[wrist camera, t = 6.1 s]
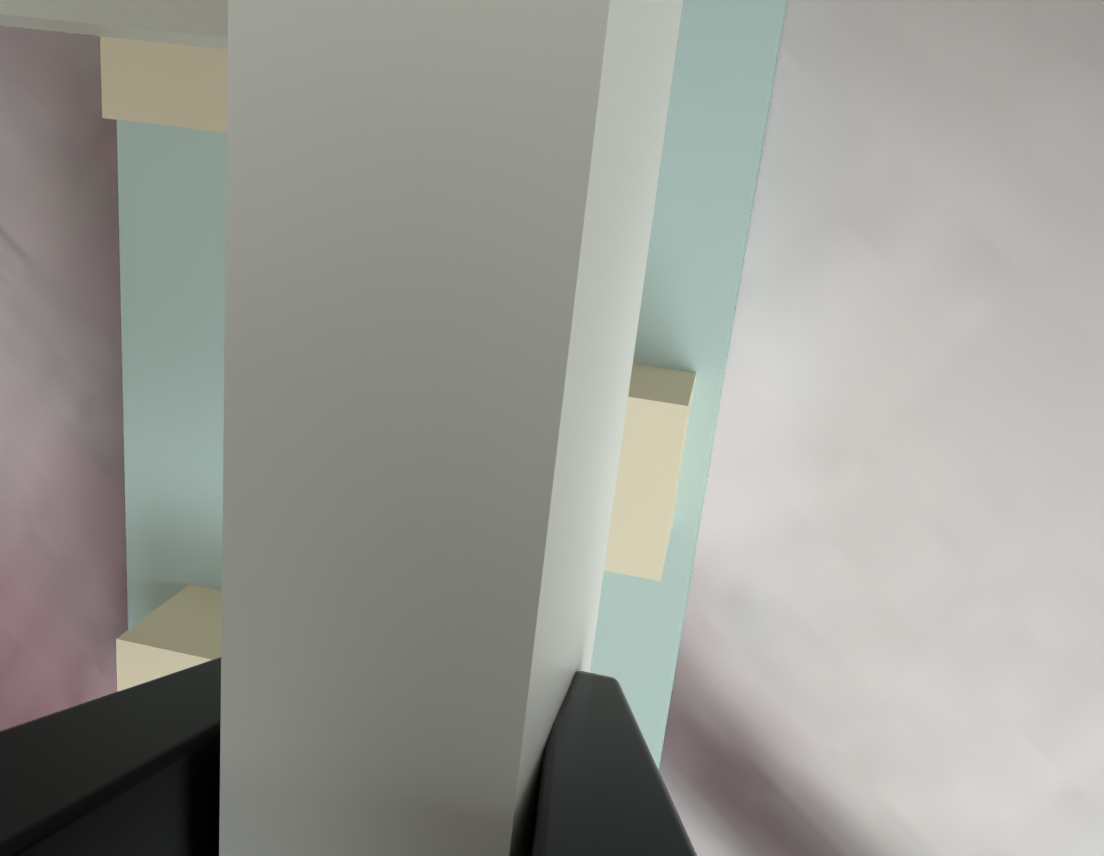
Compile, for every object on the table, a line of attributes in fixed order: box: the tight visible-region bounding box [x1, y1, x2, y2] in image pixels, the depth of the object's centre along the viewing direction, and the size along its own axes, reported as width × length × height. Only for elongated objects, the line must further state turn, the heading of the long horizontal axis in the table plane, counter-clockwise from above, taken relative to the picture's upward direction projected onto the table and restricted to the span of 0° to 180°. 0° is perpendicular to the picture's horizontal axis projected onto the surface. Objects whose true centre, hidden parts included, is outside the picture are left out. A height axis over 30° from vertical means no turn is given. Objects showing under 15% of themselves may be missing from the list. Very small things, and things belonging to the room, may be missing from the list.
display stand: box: [100, 0, 787, 770], centre depth 18 cm, size 12×16×4 cm
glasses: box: [0, 0, 683, 856], centre depth 9 cm, size 10×13×4 cm
